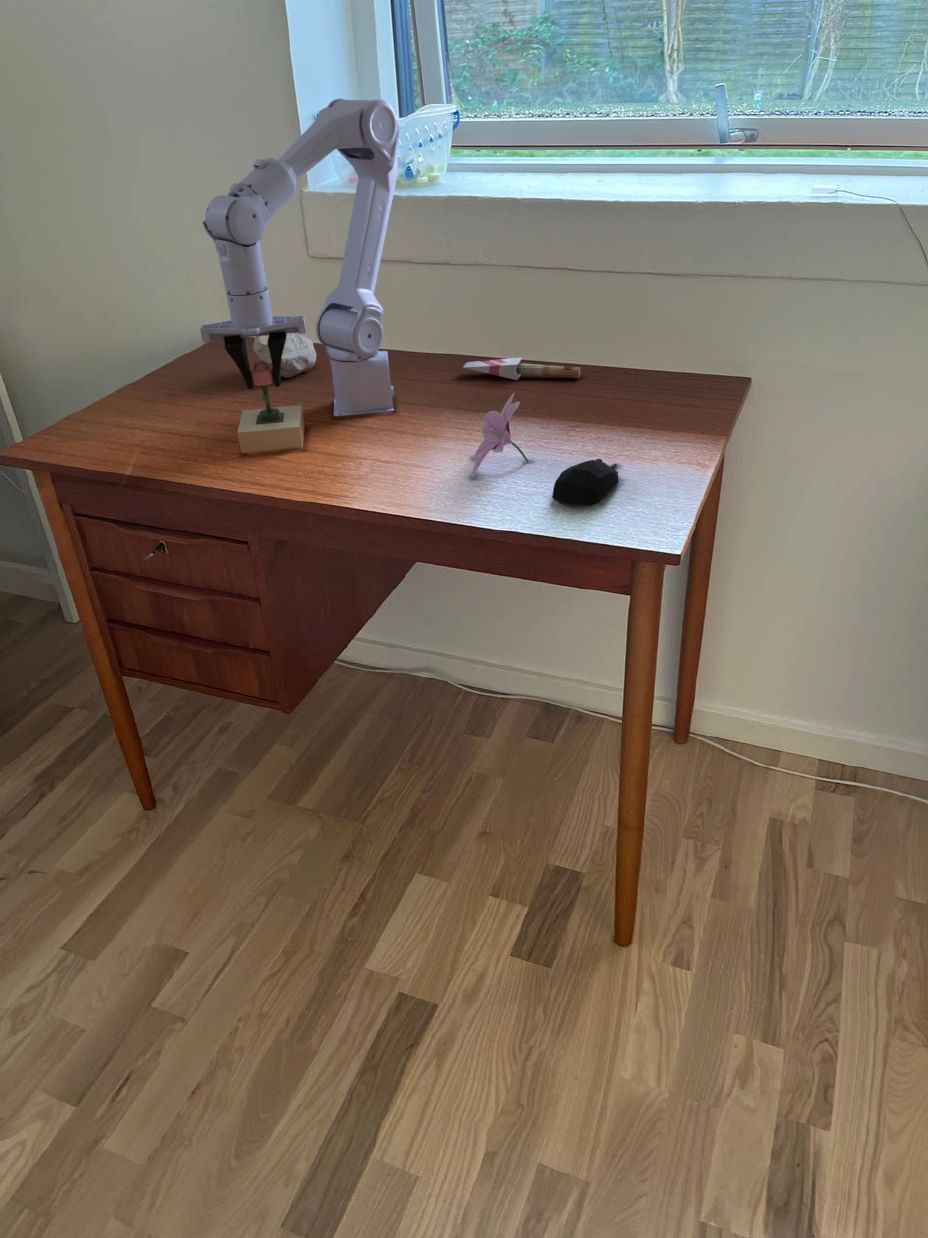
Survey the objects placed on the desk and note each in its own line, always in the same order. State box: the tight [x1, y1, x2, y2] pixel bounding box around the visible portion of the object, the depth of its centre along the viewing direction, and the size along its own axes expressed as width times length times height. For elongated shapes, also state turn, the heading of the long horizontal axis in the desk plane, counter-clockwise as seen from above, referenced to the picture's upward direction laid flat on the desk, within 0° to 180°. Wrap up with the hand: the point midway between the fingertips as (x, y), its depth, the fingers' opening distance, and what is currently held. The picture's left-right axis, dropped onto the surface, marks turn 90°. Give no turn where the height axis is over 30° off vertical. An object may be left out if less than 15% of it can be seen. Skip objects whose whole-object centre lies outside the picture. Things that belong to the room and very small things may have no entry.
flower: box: [250, 360, 280, 422], centre depth 135 cm, size 3×4×9 cm
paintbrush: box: [462, 356, 581, 381], centre depth 158 cm, size 4×3×20 cm
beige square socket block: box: [236, 404, 306, 454], centre depth 139 cm, size 9×9×4 cm
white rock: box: [252, 333, 317, 379], centre depth 165 cm, size 12×8×10 cm
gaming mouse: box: [551, 458, 620, 508], centre depth 120 cm, size 6×15×4 cm, turn 147°
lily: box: [471, 391, 529, 479], centre depth 127 cm, size 12×12×10 cm
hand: (264, 385), depth 135 cm, fingers closed on flower, 3 cm apart
